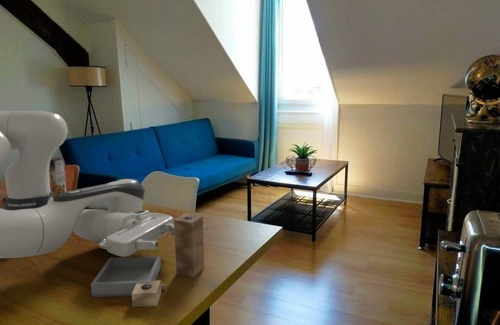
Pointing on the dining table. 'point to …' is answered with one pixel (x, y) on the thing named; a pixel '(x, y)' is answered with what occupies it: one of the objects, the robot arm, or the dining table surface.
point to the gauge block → (147, 293)
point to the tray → (125, 275)
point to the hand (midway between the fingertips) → (168, 238)
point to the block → (189, 245)
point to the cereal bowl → (99, 205)
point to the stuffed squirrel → (55, 188)
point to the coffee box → (57, 171)
